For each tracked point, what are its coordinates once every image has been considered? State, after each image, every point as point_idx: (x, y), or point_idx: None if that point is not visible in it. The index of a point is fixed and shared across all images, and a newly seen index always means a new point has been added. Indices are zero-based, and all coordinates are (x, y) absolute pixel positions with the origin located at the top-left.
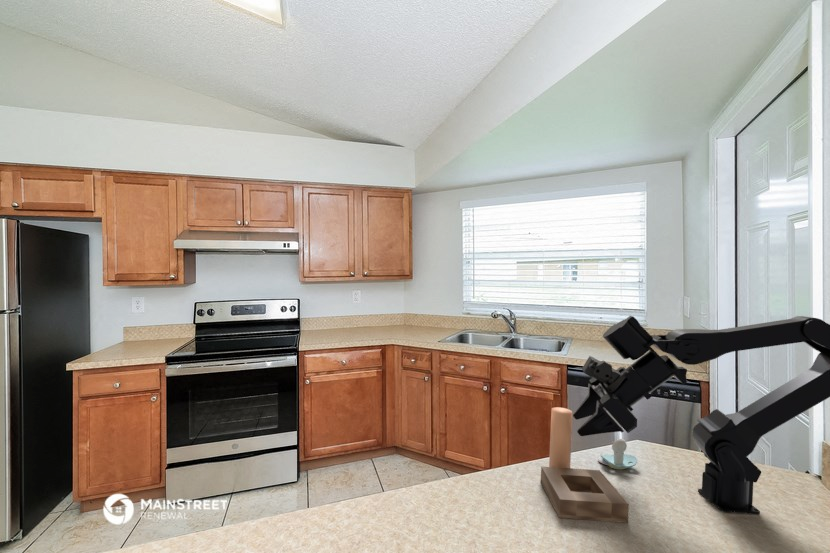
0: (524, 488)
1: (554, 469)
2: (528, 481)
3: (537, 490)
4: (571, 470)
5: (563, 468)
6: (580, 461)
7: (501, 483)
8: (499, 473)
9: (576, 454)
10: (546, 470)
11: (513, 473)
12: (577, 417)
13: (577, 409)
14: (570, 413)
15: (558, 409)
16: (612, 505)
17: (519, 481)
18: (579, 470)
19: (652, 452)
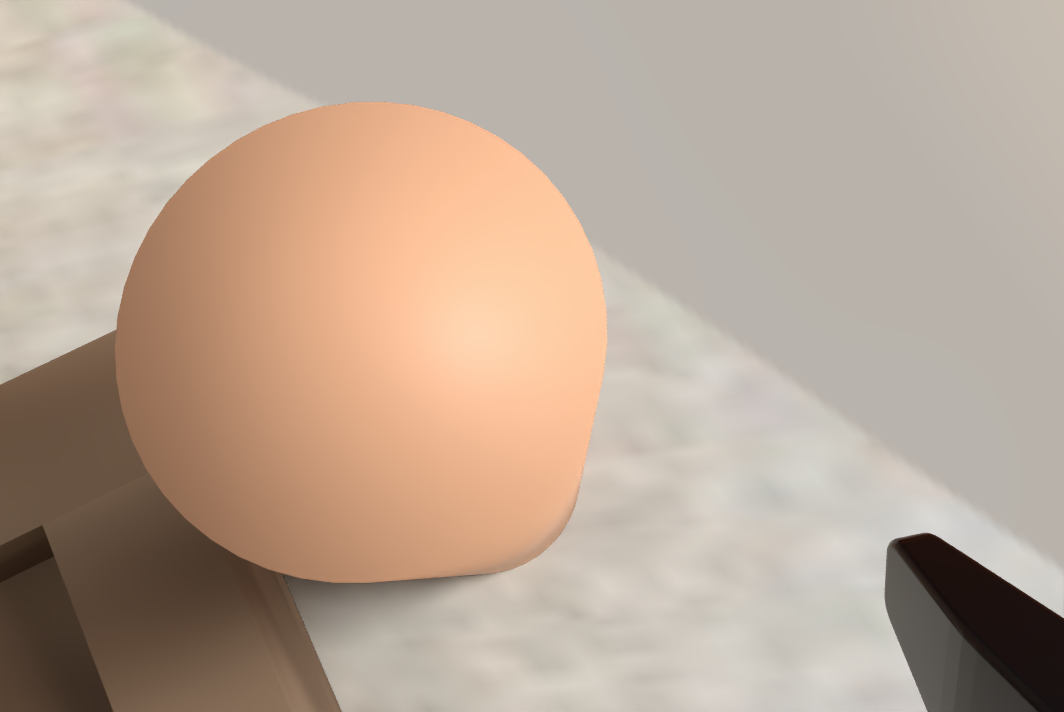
0: (16, 265)
1: (129, 454)
2: None
3: (35, 364)
4: (200, 620)
5: (199, 535)
6: (868, 636)
7: (6, 90)
8: (162, 31)
9: (1026, 576)
10: (66, 386)
11: (224, 126)
12: (909, 629)
13: (1023, 628)
14: (264, 544)
15: (407, 243)
16: None
17: (111, 202)
18: (244, 701)
19: None
